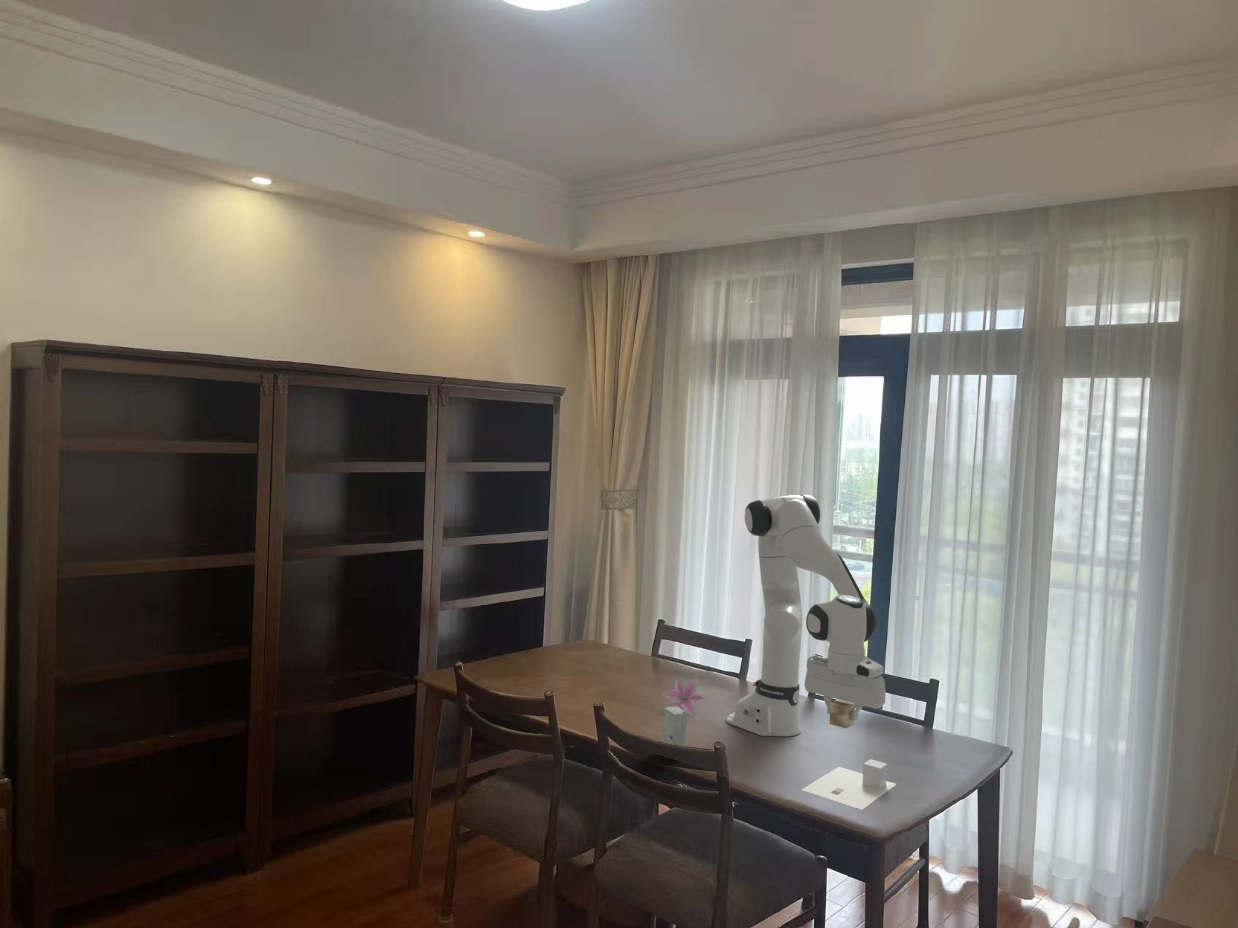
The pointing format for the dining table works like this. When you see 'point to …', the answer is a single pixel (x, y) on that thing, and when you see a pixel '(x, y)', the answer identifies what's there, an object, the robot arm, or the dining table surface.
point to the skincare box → (674, 726)
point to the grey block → (874, 774)
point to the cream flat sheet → (846, 788)
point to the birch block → (841, 713)
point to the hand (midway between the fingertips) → (842, 716)
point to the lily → (684, 696)
